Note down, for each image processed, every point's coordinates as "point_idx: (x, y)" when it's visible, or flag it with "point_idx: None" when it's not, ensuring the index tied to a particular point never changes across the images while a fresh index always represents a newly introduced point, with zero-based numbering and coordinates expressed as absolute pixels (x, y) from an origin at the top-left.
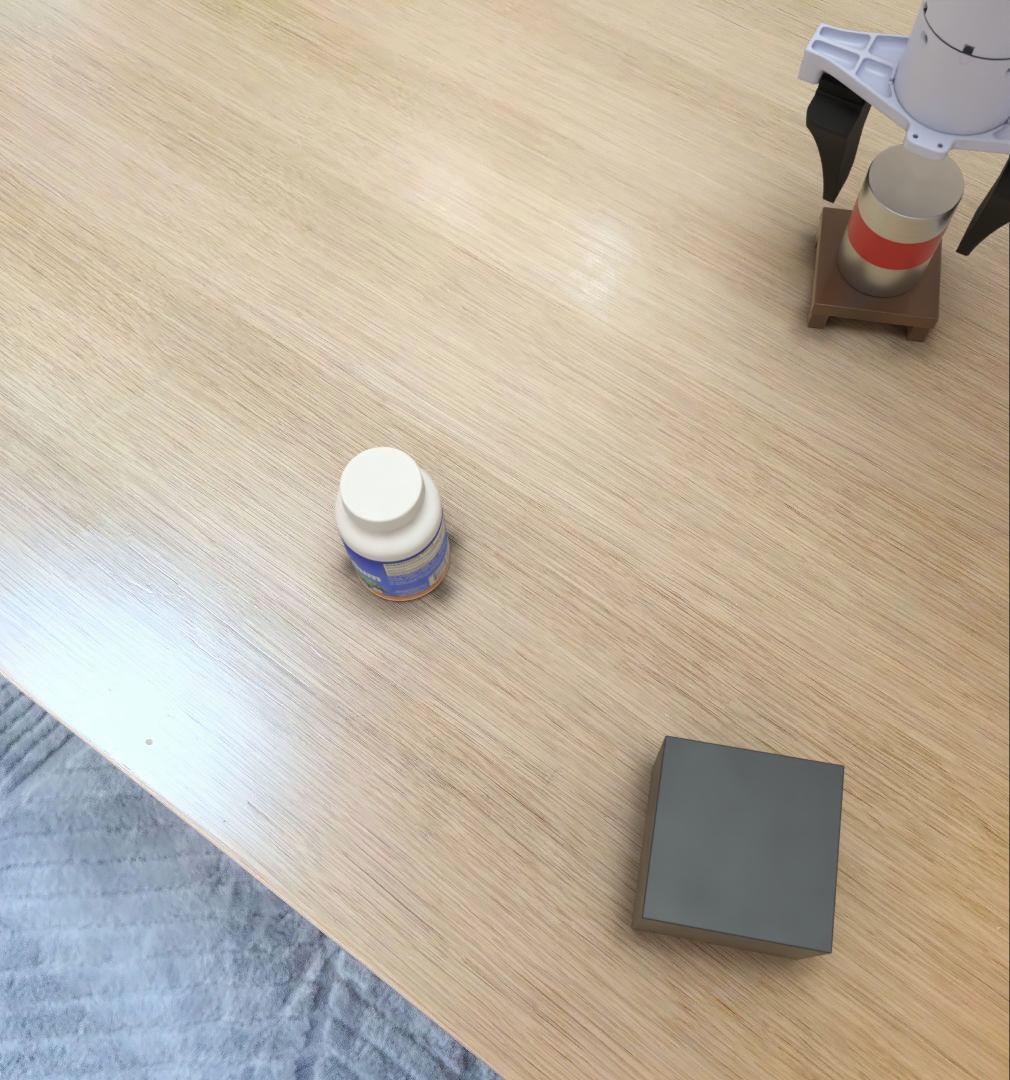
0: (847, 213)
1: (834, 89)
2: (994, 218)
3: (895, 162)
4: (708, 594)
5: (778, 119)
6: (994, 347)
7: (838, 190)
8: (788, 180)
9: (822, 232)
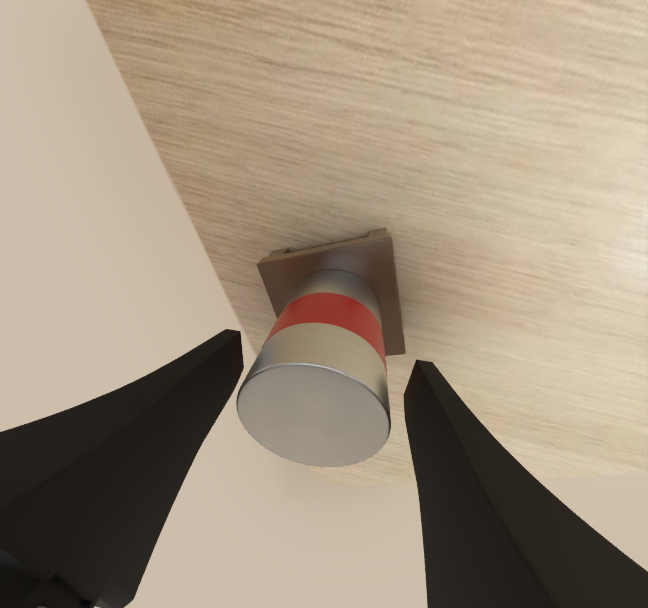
0: None
1: None
2: (131, 396)
3: (350, 442)
4: None
5: None
6: (218, 266)
7: (419, 380)
8: None
9: (400, 327)
